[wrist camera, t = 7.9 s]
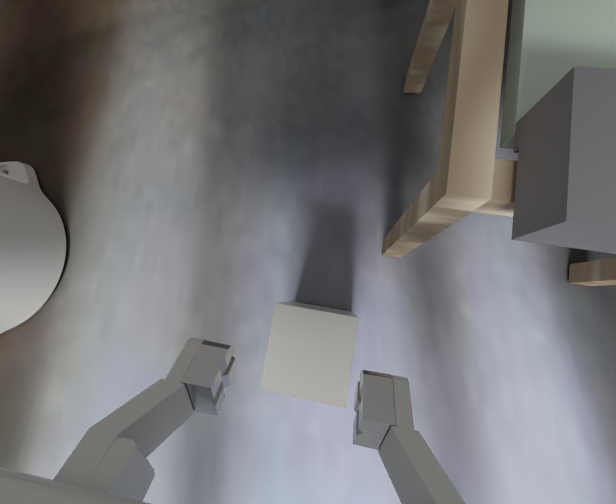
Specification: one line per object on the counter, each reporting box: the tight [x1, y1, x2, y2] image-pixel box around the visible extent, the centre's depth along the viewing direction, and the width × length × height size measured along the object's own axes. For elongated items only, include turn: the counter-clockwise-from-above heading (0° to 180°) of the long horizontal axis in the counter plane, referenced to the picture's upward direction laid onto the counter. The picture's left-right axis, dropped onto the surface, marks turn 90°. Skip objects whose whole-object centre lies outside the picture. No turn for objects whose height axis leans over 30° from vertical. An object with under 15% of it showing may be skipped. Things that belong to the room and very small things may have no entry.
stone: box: [259, 302, 359, 408], centre depth 22 cm, size 5×5×8 cm
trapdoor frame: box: [382, 0, 616, 286], centre depth 18 cm, size 16×17×16 cm
